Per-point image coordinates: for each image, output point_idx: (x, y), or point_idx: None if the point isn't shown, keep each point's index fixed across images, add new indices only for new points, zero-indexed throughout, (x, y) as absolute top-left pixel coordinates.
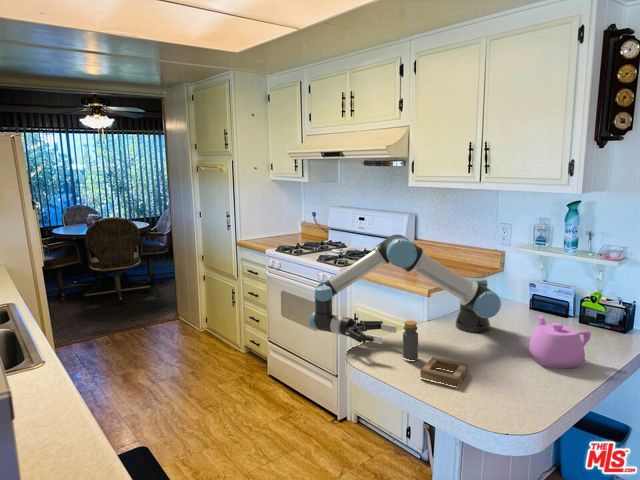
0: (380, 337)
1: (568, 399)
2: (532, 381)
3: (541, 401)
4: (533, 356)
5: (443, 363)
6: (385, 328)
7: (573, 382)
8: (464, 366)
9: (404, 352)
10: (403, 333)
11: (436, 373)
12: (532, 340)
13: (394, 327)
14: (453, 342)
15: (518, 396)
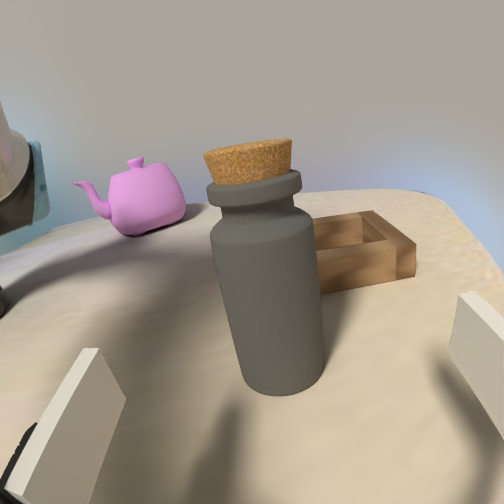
0: (478, 295)
1: None
2: None
3: (308, 200)
4: (157, 221)
5: None
6: (76, 473)
7: None
8: None
9: (319, 337)
10: (294, 230)
11: (391, 227)
12: (139, 197)
13: (100, 364)
14: (63, 323)
15: (315, 207)
